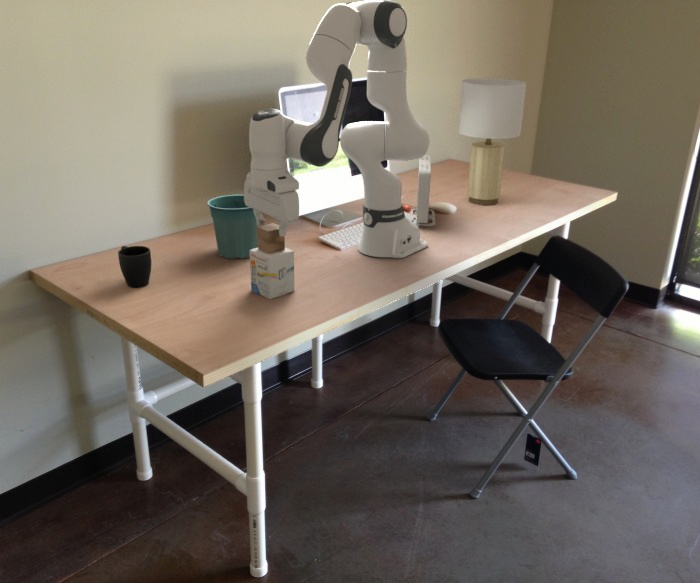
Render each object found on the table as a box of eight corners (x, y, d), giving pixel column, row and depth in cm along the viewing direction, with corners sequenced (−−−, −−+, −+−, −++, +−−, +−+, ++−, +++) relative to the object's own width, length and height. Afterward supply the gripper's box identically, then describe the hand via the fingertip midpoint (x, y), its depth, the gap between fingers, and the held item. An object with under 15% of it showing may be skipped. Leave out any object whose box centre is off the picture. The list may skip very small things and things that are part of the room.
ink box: (250, 290, 180) (248, 248, 176) (275, 282, 186) (273, 241, 181) (270, 300, 175) (268, 257, 170) (295, 291, 180) (294, 249, 175)
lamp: (458, 191, 275) (467, 77, 258) (515, 196, 269) (528, 80, 251) (448, 206, 255) (457, 83, 238) (509, 212, 249) (523, 86, 231)
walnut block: (274, 244, 179) (273, 222, 176) (284, 249, 175) (284, 227, 173) (257, 248, 176) (256, 226, 173) (268, 254, 172) (267, 231, 170)
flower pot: (207, 246, 212) (204, 196, 205) (260, 241, 216) (257, 192, 210) (214, 264, 197) (210, 211, 191) (270, 259, 202) (268, 206, 195)
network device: (410, 207, 253) (413, 154, 246) (434, 208, 253) (437, 154, 245) (409, 228, 230) (412, 170, 222) (435, 229, 229) (439, 171, 221)
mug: (142, 271, 191) (138, 239, 188) (158, 285, 182) (155, 252, 179) (113, 278, 187) (108, 245, 183) (128, 292, 178) (124, 258, 174)
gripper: (236, 171, 173) (239, 222, 179) (281, 188, 159) (283, 243, 165) (257, 167, 177) (259, 218, 183) (303, 184, 163) (304, 238, 168)
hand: (271, 230), depth 174 cm, fingers open, 8 cm apart
